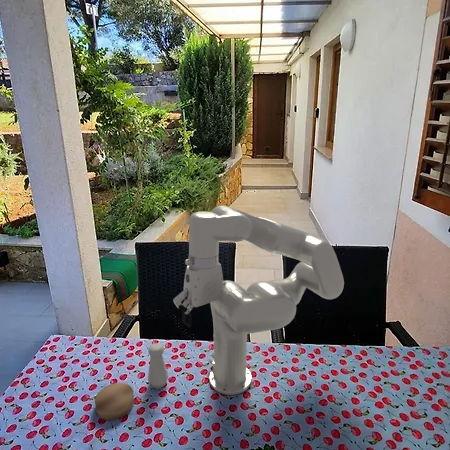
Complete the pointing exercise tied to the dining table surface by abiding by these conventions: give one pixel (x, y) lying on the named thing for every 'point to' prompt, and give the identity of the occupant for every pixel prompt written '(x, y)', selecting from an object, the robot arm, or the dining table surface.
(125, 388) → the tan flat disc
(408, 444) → the dining table surface
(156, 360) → the salt shaker
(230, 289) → the robot arm
